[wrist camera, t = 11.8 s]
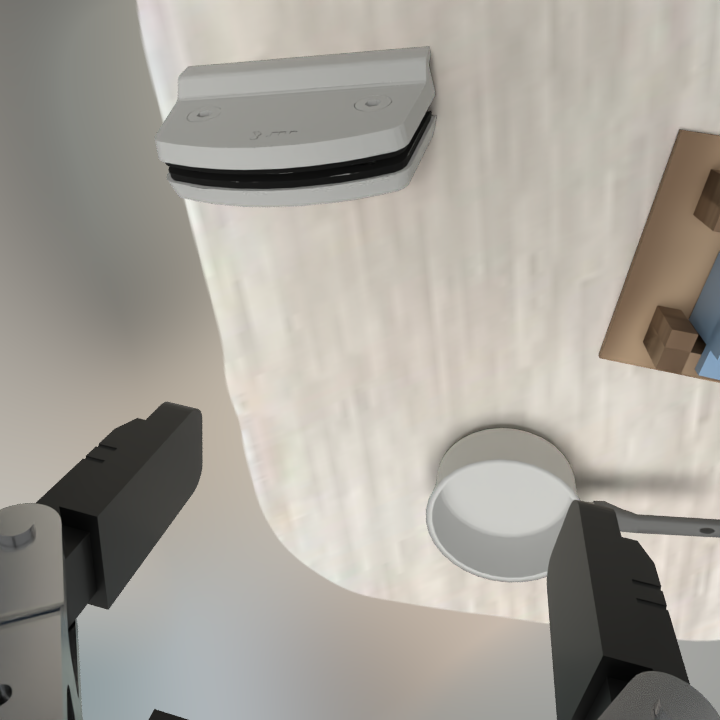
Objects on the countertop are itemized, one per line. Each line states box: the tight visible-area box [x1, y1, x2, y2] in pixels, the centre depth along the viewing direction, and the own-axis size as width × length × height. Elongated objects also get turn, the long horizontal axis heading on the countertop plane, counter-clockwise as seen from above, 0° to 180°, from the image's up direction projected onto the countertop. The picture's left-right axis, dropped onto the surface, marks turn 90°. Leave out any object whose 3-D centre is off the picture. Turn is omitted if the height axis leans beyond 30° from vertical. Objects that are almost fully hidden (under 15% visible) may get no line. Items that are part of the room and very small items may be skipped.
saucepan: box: [426, 428, 720, 582], centre depth 44 cm, size 12×20×6 cm, turn 99°
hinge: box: [155, 46, 436, 207], centre depth 35 cm, size 17×5×10 cm, turn 94°
